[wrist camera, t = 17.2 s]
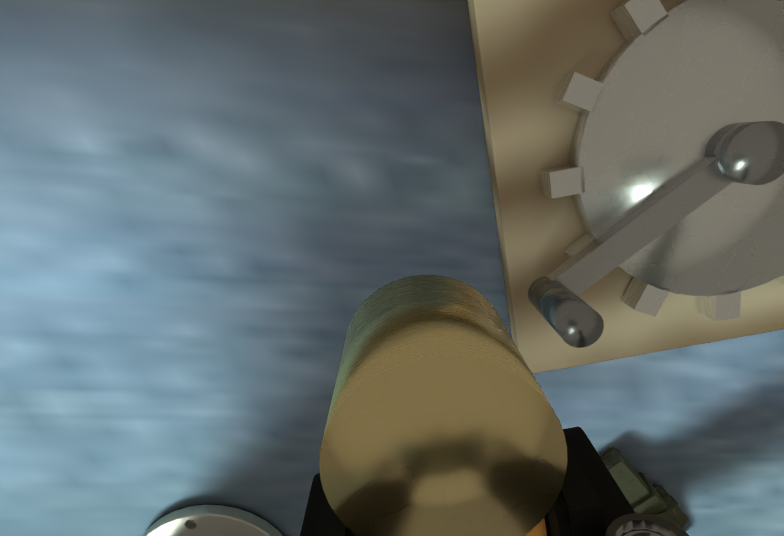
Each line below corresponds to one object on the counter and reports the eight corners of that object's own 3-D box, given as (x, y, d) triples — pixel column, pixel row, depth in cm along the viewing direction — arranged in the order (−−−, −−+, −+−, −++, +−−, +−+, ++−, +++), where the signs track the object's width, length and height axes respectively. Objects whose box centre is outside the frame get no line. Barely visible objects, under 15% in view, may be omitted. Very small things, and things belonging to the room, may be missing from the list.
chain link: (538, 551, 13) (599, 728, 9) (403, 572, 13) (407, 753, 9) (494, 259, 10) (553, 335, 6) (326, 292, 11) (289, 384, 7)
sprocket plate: (877, 299, 29) (906, 309, 28) (515, 364, 30) (522, 377, 29) (927, -134, 23) (968, -155, 21) (463, -32, 24) (468, -45, 22)
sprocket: (967, 37, 23) (1180, -1, 17) (749, 375, 29) (850, 440, 22) (644, -113, 21) (750, -217, 15) (475, 280, 27) (502, 323, 20)
